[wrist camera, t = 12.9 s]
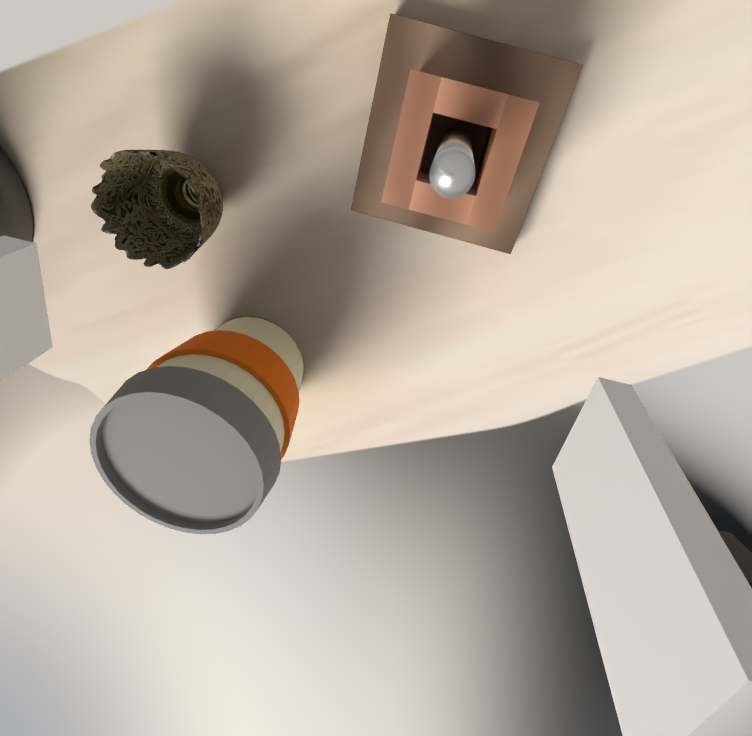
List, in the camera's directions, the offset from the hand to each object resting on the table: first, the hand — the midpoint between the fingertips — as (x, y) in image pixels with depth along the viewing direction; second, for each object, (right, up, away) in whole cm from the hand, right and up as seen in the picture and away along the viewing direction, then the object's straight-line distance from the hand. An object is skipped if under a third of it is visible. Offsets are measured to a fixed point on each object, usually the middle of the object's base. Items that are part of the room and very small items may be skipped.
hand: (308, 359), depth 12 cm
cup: (-12, +14, +27) cm, 33 cm away
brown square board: (+7, +15, +23) cm, 28 cm away
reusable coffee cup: (-9, 0, +34) cm, 36 cm away
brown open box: (+7, +15, +21) cm, 27 cm away
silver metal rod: (+7, +15, +21) cm, 27 cm away
